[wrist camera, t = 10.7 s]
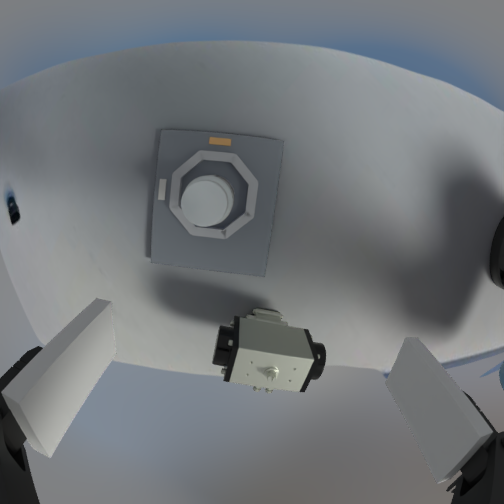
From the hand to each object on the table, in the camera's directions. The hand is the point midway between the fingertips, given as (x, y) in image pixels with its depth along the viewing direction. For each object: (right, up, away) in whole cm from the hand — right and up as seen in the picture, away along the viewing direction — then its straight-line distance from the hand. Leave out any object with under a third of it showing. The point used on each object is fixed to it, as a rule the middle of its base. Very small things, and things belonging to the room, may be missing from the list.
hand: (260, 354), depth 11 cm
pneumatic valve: (+1, -5, +26) cm, 27 cm away
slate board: (-5, +10, +22) cm, 24 cm away
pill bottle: (-5, +11, +20) cm, 23 cm away
